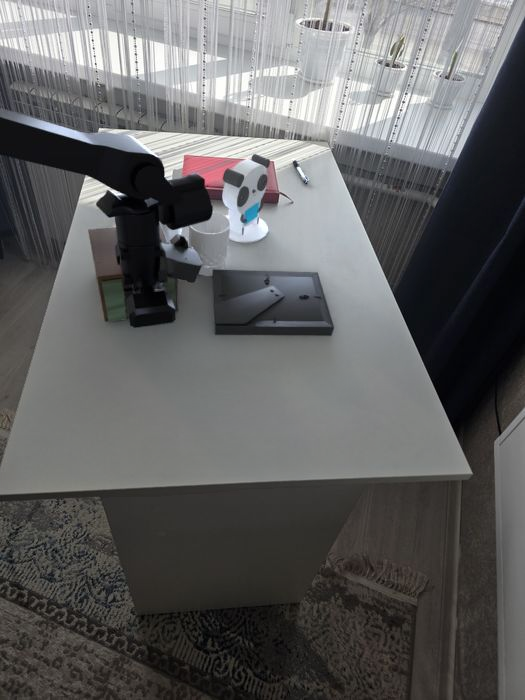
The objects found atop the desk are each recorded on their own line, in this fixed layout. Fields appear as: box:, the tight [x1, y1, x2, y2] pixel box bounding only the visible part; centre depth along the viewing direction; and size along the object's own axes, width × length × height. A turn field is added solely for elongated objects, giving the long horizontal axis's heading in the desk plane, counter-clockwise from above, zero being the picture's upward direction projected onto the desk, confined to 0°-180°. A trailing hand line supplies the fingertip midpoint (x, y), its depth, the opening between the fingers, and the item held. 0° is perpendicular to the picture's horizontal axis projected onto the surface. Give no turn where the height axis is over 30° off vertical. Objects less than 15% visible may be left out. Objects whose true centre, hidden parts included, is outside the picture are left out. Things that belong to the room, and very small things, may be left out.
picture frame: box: [211, 269, 335, 337], centre depth 86 cm, size 16×3×21 cm
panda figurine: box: [222, 153, 271, 244], centre depth 99 cm, size 12×11×15 cm
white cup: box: [187, 211, 231, 277], centre depth 90 cm, size 8×8×10 cm
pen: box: [292, 158, 309, 185], centre depth 126 cm, size 14×2×1 cm, turn 12°
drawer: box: [102, 276, 177, 323], centre depth 80 cm, size 17×11×8 cm
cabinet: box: [87, 223, 179, 323], centre depth 82 cm, size 14×13×10 cm
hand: (147, 323), depth 75 cm, fingers closed
